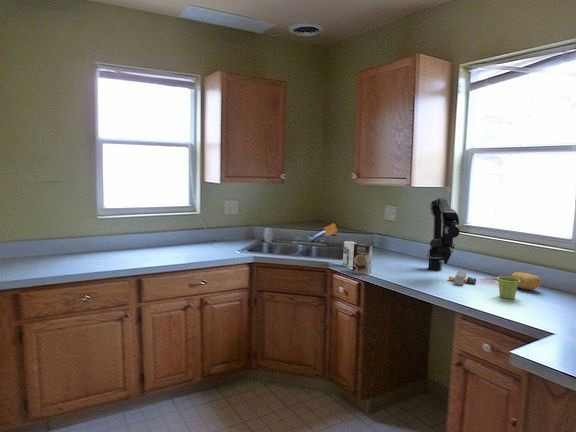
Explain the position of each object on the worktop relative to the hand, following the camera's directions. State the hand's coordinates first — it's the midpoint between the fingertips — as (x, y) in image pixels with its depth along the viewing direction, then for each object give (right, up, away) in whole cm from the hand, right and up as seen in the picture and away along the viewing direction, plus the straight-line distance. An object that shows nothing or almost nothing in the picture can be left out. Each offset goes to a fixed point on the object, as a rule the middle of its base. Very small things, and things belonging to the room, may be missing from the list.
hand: (445, 263), depth 218 cm
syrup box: (-47, -5, +26) cm, 54 cm away
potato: (+35, -11, -12) cm, 38 cm away
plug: (+7, -9, -3) cm, 12 cm away
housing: (+7, -9, -2) cm, 12 cm away
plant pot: (+18, -13, -27) cm, 35 cm away
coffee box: (-42, -7, +11) cm, 44 cm away
